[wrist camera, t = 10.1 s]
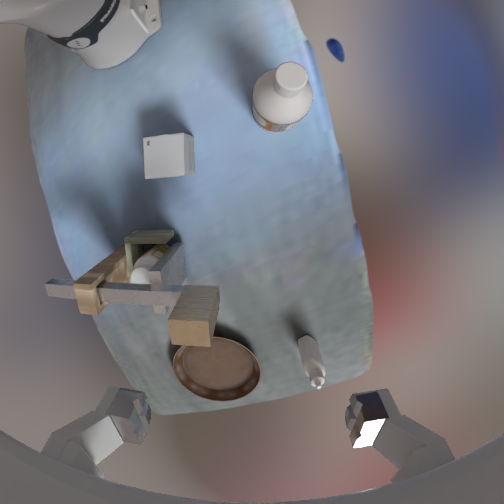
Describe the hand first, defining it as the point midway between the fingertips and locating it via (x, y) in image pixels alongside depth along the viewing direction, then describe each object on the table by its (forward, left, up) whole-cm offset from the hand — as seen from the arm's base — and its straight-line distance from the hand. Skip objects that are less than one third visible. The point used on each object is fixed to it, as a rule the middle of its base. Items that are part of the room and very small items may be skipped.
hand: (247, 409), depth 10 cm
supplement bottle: (+7, -15, -37) cm, 41 cm away
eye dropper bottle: (+25, +11, -37) cm, 46 cm away
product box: (-10, -12, -37) cm, 41 cm away
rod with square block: (+7, -17, -36) cm, 41 cm away
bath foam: (-17, +3, -37) cm, 41 cm away
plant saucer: (+30, -7, -38) cm, 49 cm away
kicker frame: (+7, -17, -37) cm, 41 cm away
